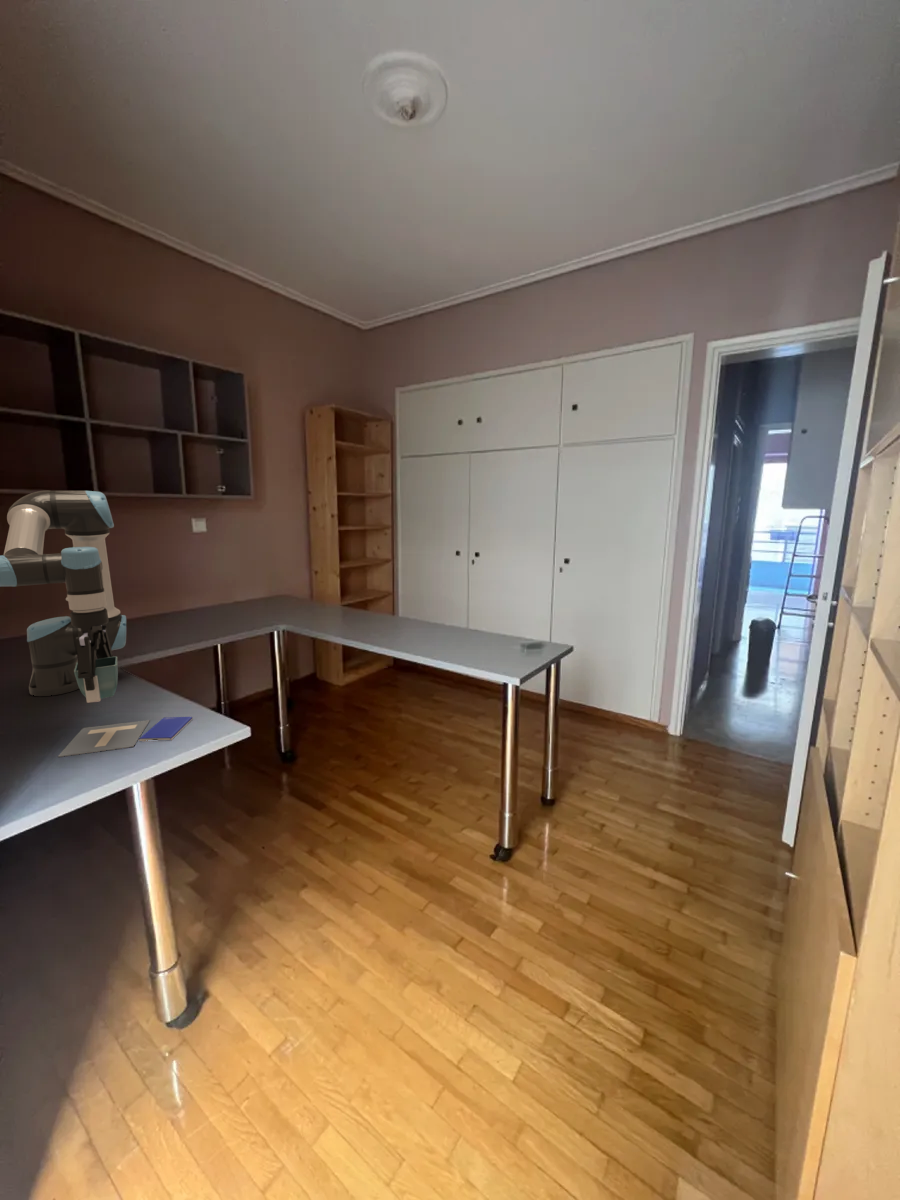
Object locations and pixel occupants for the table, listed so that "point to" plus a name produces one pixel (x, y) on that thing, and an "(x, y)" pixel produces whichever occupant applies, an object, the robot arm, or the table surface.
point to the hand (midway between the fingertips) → (100, 694)
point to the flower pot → (103, 676)
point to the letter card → (105, 738)
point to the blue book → (166, 728)
